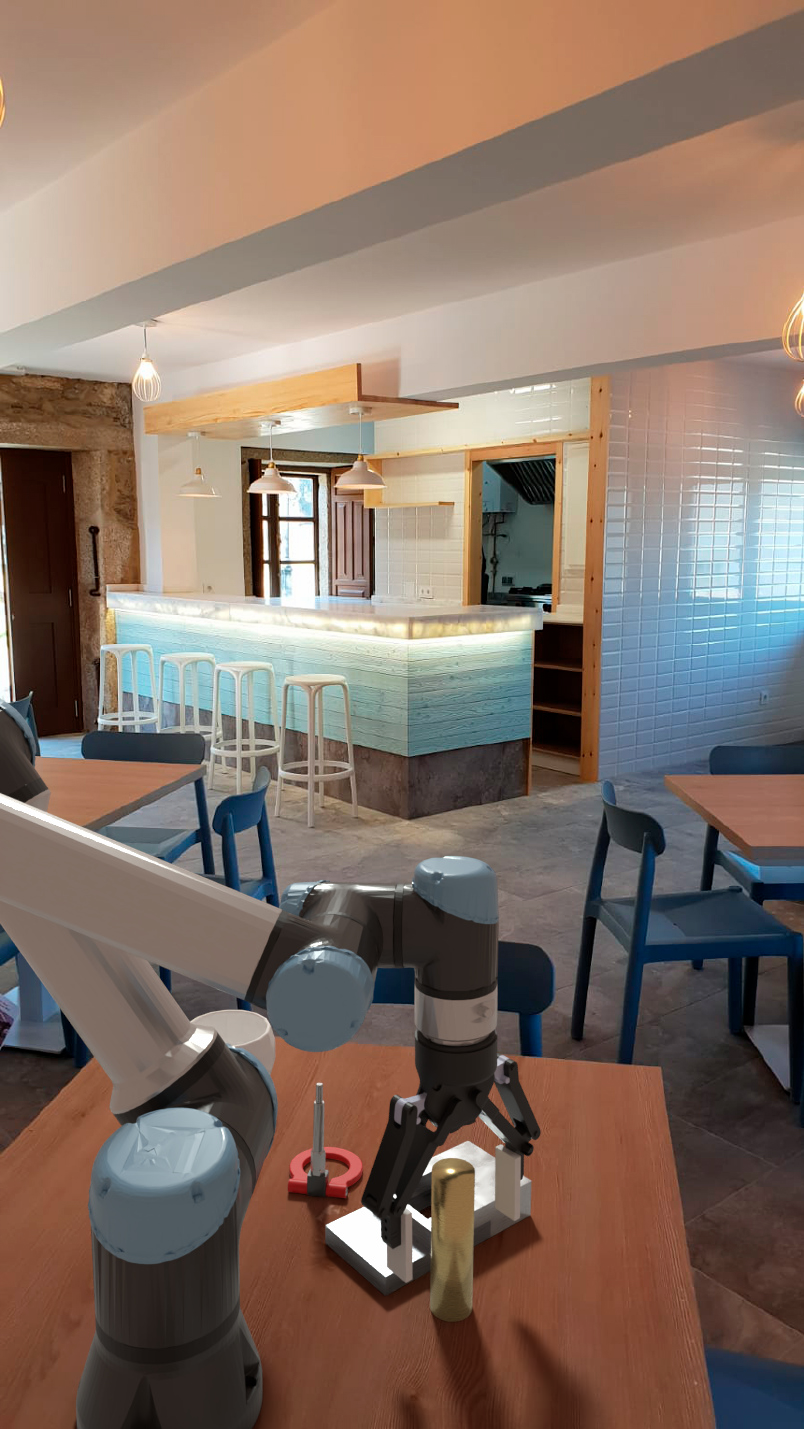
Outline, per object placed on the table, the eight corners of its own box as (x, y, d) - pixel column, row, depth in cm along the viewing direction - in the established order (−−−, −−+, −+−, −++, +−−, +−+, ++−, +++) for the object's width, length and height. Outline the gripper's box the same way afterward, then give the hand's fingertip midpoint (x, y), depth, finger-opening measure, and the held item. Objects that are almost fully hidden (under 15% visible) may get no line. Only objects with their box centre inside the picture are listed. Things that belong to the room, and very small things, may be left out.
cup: (160, 1103, 135) (158, 1032, 134) (227, 1065, 145) (226, 1000, 144) (229, 1133, 128) (228, 1059, 127) (295, 1092, 138) (294, 1023, 137)
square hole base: (385, 1296, 100) (385, 1258, 100) (325, 1243, 108) (325, 1207, 107) (530, 1215, 113) (531, 1180, 112) (467, 1172, 120) (468, 1140, 120)
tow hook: (299, 1152, 125) (278, 1195, 116) (301, 1049, 124) (280, 1083, 115) (368, 1159, 124) (353, 1203, 115) (370, 1055, 123) (355, 1090, 113)
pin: (449, 1328, 96) (451, 1188, 94) (421, 1304, 99) (422, 1168, 97) (481, 1308, 99) (483, 1172, 97) (452, 1286, 102) (454, 1153, 100)
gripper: (372, 1088, 84) (375, 1326, 87) (579, 1004, 100) (575, 1208, 103) (319, 1055, 90) (323, 1279, 93) (522, 980, 105) (520, 1174, 109)
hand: (455, 1242), depth 98 cm, fingers open, 13 cm apart
